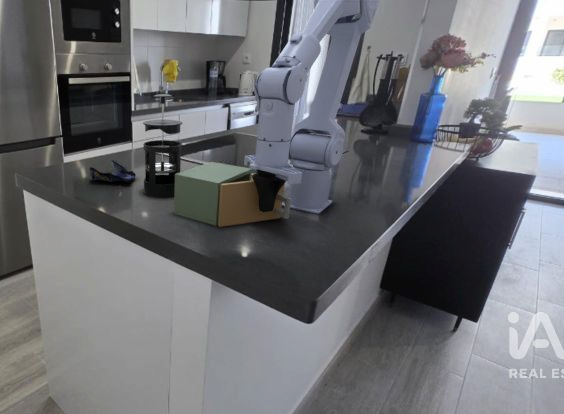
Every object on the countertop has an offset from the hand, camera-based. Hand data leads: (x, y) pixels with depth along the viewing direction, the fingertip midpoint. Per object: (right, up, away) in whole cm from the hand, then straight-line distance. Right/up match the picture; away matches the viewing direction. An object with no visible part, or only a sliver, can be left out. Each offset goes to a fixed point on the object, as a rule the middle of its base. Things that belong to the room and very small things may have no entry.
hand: (265, 210), depth 72 cm
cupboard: (-9, 0, +9) cm, 12 cm away
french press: (-18, +4, +21) cm, 28 cm away
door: (-2, -3, +1) cm, 3 cm away
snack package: (-31, +8, +30) cm, 44 cm away
